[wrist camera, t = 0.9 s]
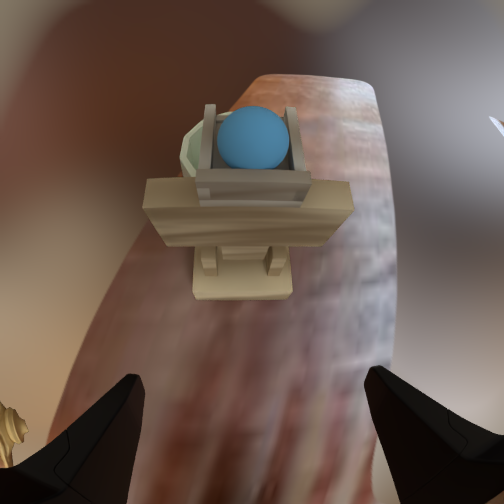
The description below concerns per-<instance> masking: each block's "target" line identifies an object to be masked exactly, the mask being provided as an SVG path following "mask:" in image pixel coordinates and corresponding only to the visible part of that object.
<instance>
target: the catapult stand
mask: <svg viewBox="0 0 504 504" xmlns="http://www.w3.org/2000/svg"><path fill="white" fill-rule="evenodd" d="M292 291H293V289H292V277H291V266H290V255H289V246H269V248H268V250H267V253H266V255H265V258H264V259H253V260H223V255H222V247H221V246H195V252H194V269H193V290H192V292H193V294H194V296H195V298H196V300H282V299H288V297H289V296H290V294H291V293H292Z"/></svg>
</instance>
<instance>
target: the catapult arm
mask: <svg viewBox="0 0 504 504" xmlns="http://www.w3.org/2000/svg"><path fill="white" fill-rule="evenodd" d="M228 116H229V115H216V105H215V104H210V105H205V112H204V120H203V129H202V137H201V146H200V156H199V166H198V169H196V177H174V178H153V179H147V183H146V190H145V195H144V201H143V207H142V208H143V210H144V211H145V213H146V214H147V216H148V218H149V219H150V221H151V222H152V224H153V225H154V227H155V229H156V230H157V232H158V233H159V235H160V236H161V238H162V239H163V241H164V242H165V244H166V245H167V246H221V247H222V255H223V260H253V259H264V258H265V255H266V253H267V250H268V248H269V246H311V247H322V246H323V244H324V243H325V242H326V241H327V240H328V239H329V238H330V237H331V236H332V235H333V234H334V232H335V231H336V230H337V229H338V228H339V227H340V226H341V225H342V224H343V222H344V221H345V220H346V219H347V218H348V217H349V216H350V215H351V213H352V212H353V211H354V205H353V200H352V195H351V190H350V185H349V182H343V181H331V180H317V179H311V175H310V171H306V167H305V160H304V153H303V147H302V141H301V135H300V129H299V123H298V117H297V112H296V107H286V109H285V113H284V117H280V118H281V119H282V121H283V122H284V124H285V126H286V128H287V131H288V134H289V147H288V151H287V154H286V156H285V158H284V159H283V161H282V162H281V163H280V164H279V165H278V166H277V167H276V168H275V169H232V168H231V167H229V166H228V165H227V164H226V163H225V161H224V160H223V159H222V157H221V155H220V153H219V150H218V145H217V136H218V131H219V129H220V126H221V124H222V123H223V121H224V120H225V119H226V118H227V117H228Z"/></svg>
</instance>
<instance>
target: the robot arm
mask: <svg viewBox="0 0 504 504" xmlns="http://www.w3.org/2000/svg"><path fill="white" fill-rule="evenodd" d="M364 388H365V392H366V396H367V400H368V404H369V408H370V413H371V417H372V420H373V423H374V426H375V429H376V431H377V434H378V437H379V440H380V443H381V445H382V448H383V451H384V454H385V457H386V460H387V463H388V466H389V469H390V472H391V475H392V478H393V481H394V484H395V488H396V491H397V494H398V497H399V500H400V504H504V435H498V434H495V433H492V432H490V431H488V430H486V429H484V428H482V427H480V426H477V425H475V424H473V423H471V422H469V421H468V420H466V419H464V418H462V417H460V416H459V415H457V414H455V413H454V412H452V411H451V410H449V409H447V408H445V407H444V406H443V405H441V404H439V403H438V402H436V401H435V400H433V399H432V398H430V397H428V396H427V395H425V394H424V393H422V392H421V391H419V390H418V389H416V388H414V387H413V386H412V385H410V384H408V383H407V382H405V381H404V380H402V379H401V378H399V377H398V376H396V375H395V374H393V373H392V372H390V371H389V370H387V369H386V368H384V367H383V366H381V365H378V366H372V367H371V368H370V369H369V371H368V374H367V376H366V379H365V381H364ZM144 399H145V389H144V386H143V384H142V381H141V378H140V376H139V375H138V374H127V375H126V376H125V377H124V378H122V379H121V380H120V381H119V382H118V383H117V384H116V385H115V386H114V387H112V388H111V389H110V390H109V391H108V392H107V393H106V394H105V395H104V396H102V397H101V398H100V399H99V400H98V401H97V402H96V403H95V404H94V405H92V406H91V407H90V408H89V409H88V410H87V411H86V412H85V413H84V414H82V415H81V416H80V417H79V418H78V419H77V420H76V421H75V422H73V423H72V424H71V425H70V426H69V427H68V428H67V430H64V431H63V432H62V433H61V434H60V435H59V436H58V437H56V438H55V439H54V440H53V441H52V442H50V443H49V444H48V445H46V446H45V447H43V448H42V449H41V450H39V451H38V452H36V453H35V454H33V455H32V456H30V457H29V458H27V459H26V460H24V461H23V462H21V463H20V464H18V465H16V466H13V467H9V468H0V504H127V498H128V492H129V487H130V481H131V476H132V471H133V466H134V461H135V456H136V451H137V447H138V442H139V438H140V433H141V426H142V417H143V408H144Z"/></svg>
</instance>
